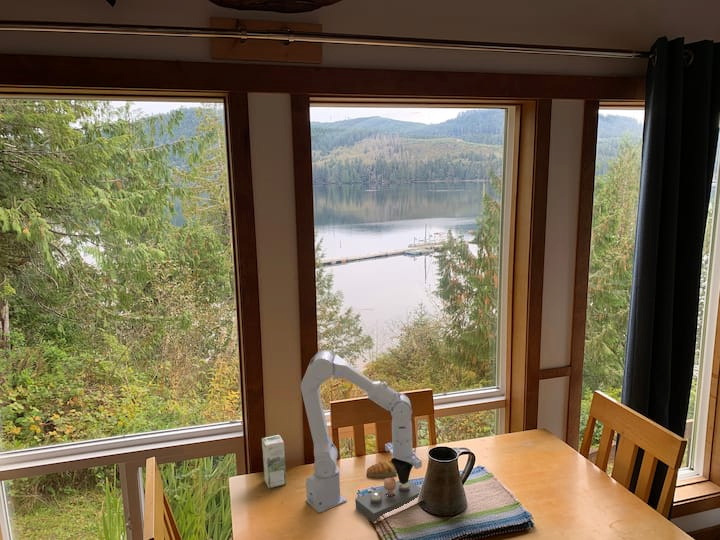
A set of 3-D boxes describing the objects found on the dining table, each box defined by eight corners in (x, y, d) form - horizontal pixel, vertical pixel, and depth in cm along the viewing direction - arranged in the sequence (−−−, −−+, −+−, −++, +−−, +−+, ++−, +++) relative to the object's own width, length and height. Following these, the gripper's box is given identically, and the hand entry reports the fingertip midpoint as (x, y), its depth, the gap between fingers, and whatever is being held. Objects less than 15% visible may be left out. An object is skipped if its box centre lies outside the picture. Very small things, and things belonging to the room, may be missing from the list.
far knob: (403, 501, 153) (402, 486, 152) (396, 496, 155) (396, 481, 155) (412, 497, 154) (411, 482, 154) (405, 492, 157) (404, 477, 156)
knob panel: (374, 523, 143) (373, 513, 143) (355, 508, 151) (355, 498, 150) (425, 500, 153) (424, 490, 153) (405, 487, 161) (405, 478, 160)
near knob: (375, 514, 147) (374, 498, 146) (368, 508, 150) (367, 493, 149) (384, 509, 149) (383, 494, 148) (377, 504, 151) (377, 489, 151)
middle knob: (389, 500, 150) (388, 484, 149) (382, 495, 152) (381, 480, 152) (398, 496, 151) (397, 481, 151) (391, 491, 154) (390, 476, 153)
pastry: (370, 482, 165) (370, 470, 165) (363, 472, 172) (363, 460, 171) (398, 476, 168) (398, 464, 168) (391, 466, 174) (390, 455, 174)
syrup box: (281, 476, 171) (278, 433, 169) (286, 485, 165) (283, 440, 163) (264, 480, 168) (261, 437, 167) (268, 489, 163) (265, 444, 161)
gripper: (429, 442, 149) (431, 488, 150) (397, 425, 161) (399, 468, 162) (410, 449, 145) (411, 496, 146) (378, 432, 157) (380, 475, 158)
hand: (403, 482), depth 154 cm, fingers closed, pressing on far knob
